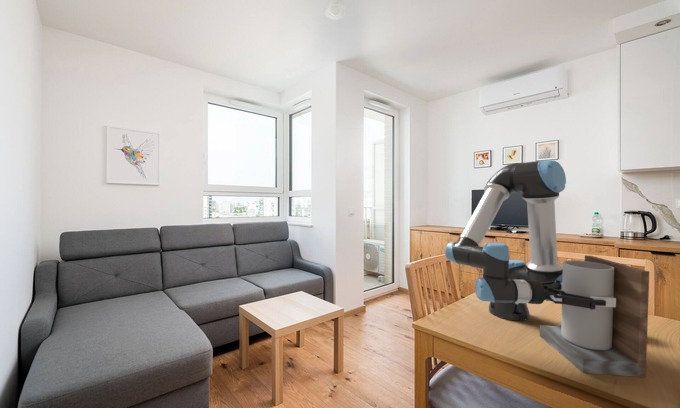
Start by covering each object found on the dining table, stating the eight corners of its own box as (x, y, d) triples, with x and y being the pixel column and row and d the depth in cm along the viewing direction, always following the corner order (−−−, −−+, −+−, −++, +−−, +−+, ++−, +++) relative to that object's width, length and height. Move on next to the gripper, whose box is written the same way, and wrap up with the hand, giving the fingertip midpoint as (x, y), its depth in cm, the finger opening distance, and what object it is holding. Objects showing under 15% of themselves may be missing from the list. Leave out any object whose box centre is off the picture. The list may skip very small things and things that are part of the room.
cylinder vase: (623, 352, 87) (626, 269, 86) (580, 351, 87) (583, 269, 87) (589, 332, 99) (591, 260, 99) (552, 331, 100) (553, 260, 99)
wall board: (582, 372, 83) (585, 269, 83) (539, 336, 105) (541, 254, 104) (645, 377, 81) (649, 271, 81) (588, 338, 103) (591, 255, 102)
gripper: (508, 290, 108) (570, 293, 105) (548, 318, 83) (631, 323, 80) (509, 270, 107) (571, 272, 105) (549, 292, 83) (632, 296, 80)
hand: (597, 294), depth 92 cm, fingers open, 13 cm apart
